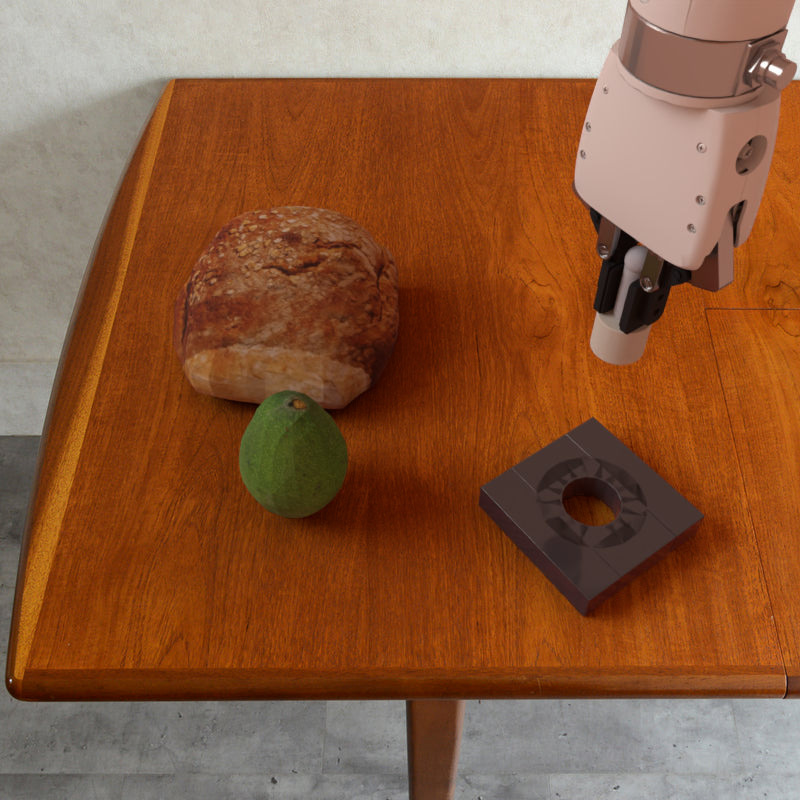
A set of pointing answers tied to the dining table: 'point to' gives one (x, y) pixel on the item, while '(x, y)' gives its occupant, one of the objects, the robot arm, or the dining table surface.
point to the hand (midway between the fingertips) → (626, 311)
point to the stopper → (606, 329)
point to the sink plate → (583, 544)
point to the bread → (288, 308)
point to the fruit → (292, 455)
